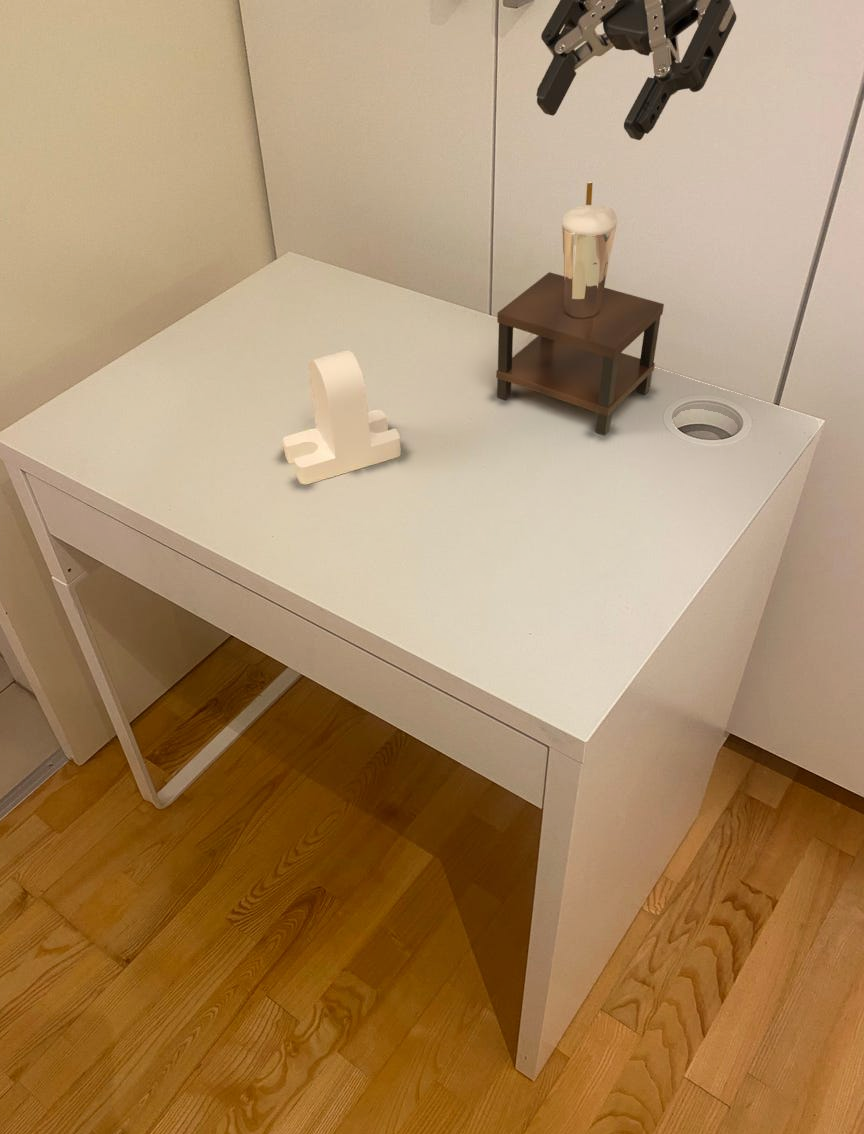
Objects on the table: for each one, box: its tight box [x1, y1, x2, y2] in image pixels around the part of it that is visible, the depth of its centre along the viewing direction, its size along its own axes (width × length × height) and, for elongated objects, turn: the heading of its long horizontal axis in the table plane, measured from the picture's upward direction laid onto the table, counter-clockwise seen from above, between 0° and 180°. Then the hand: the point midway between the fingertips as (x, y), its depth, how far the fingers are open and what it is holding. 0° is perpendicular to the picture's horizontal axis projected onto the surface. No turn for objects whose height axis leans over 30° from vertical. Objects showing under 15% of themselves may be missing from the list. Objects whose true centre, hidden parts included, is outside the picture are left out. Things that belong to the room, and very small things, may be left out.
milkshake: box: [561, 182, 618, 318], centre depth 86 cm, size 5×5×10 cm
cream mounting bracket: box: [282, 349, 402, 485], centre depth 88 cm, size 5×10×10 cm, turn 112°
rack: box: [495, 271, 665, 436], centre depth 93 cm, size 12×9×9 cm
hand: (586, 121), depth 77 cm, fingers open, 8 cm apart
